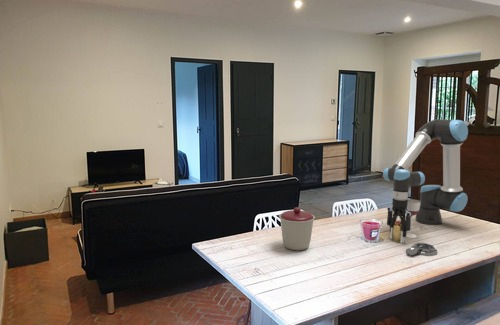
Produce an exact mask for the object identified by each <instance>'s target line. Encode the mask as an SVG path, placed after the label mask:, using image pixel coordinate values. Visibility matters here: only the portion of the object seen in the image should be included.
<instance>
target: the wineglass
mask: <svg viewBox="0 0 500 325" xmlns="http://www.w3.org/2000/svg"><path fill="white" fill-rule="evenodd" d="M407 200H408V205H407V211H408V212H411V213H412V215H411V219H413V218H412V217H413V216H416V214H417V213H418V212H419V208H420V199H419V200H418V199H413V198H408V199H407ZM411 229H412V228H411ZM411 229H410V231H408V232H407V234H406V237H405V238H409V239H412V238H415V239H416V238H417V237H418V236H417V234H416V233H415V234H414V233H411V231H412V230H411Z"/></svg>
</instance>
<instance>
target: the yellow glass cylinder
mask: <svg viewBox="0 0 500 325" xmlns="http://www.w3.org/2000/svg"><path fill="white" fill-rule="evenodd" d="M401 231H402V225H401V220H396V221H395V224H394V228H393V239H392V241H393V242H394V243H398V244H399V243H400V239H401ZM400 244H401V243H400Z"/></svg>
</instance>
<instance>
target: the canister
mask: <svg viewBox="0 0 500 325" xmlns="http://www.w3.org/2000/svg"><path fill="white" fill-rule="evenodd" d="M278 217H279V219H280V226H281V236H282V238H281V239H282V242H283V245H284V247H285V248H286V249H288V250H291V251H303V250H307V249H308V248H309V247H310V243H311V241H312V240H311V239H312V233H313V225H314V220H315V218H316V217H315V215H313V214H312V213H311V212H310V211H306V210H301V208H300V207H299V206H298V207H297V206H296V207H294V208H293V209H292V210H286V211H284V212H282V213H280V214H279V215H278Z"/></svg>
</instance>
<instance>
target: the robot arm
mask: <svg viewBox="0 0 500 325" xmlns="http://www.w3.org/2000/svg"><path fill="white" fill-rule="evenodd" d="M468 135H469V129H468V125H467V124H466V123H465V121H463V120H460V119H442V118H441V119H433V120H429V121H428V122H426V123H425V124H424V125H422V126H421V127H420V128H419V129H418V130H417V132H415V137H414V138H413V140H411V142H410V143H409V144H408V146H407V147H406V148H405V150H404V151H403V152H402V154H401V155H400V156H399V157H398V159H397V160H396V161H395V163H394V164H393V165H392V166H391V167H386V168H385V169H384V170H383V171H382V177H383V179H384V181H387V182H392V183H393V189H392V203H391V205H392V206H390V207H387V217H386V218H387V220H386V225H387V226H389V233H390V237H389V238H390V240H393V228H394V224H396V223H395V221H397V219H398V217H399V219H400V221H401V225H402V231H401V239H400V244H403V243H405V242H406V238H407V237H406V234H407V233H408V232H409V231H410V229H412V218H411V215H412V213H411V212H408V211H407V205H408V200H407V199H409V189H410V187H419V186H421V185H422V186H421V187H420V192H419V201H420V208H419V212H418V213H417V214H416V215H415V221H416V222H418V223H421V224H424V225H429V226H430V225H431V226H432V225H435V226H436V225H437V226H438V225H442V223H443V217H442V214H441V209H443V210H447V211H451V212H456V213H459V212H461V211H463V210H464V209H465V207H466V205H467V203H468V200H469V199H468V195H467V193H465V192H464V189H463V187H462V186H461V146H462V145H463V144H464V141H466V140H467V138H468ZM435 140H439V145H441V146H442V170H443V172H442V178H443V179H442V184H443V185H440V184H426V185H425V180H426V177H425V174H424V173H423V172H422V171H410V170H409V168H410V167H411V166H412V164H413V163H414V162H415V160H416V159H417V158H418V156H419V155H420V154H421V153H422V151H423V150H424V149H425V147H426V146H427V145H428V144H431V142H432V141H435Z"/></svg>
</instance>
